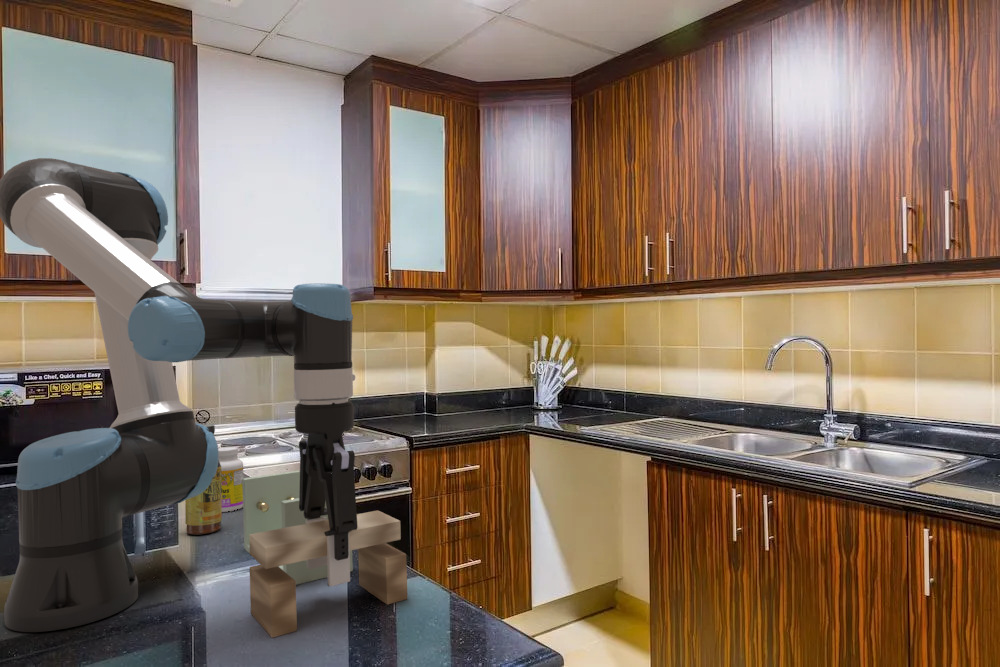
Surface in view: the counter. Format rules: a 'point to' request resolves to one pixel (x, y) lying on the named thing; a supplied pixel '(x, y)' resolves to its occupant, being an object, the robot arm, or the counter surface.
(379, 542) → the shelf board
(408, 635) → the counter surface
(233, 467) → the supplement bottle
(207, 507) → the sauce bottle
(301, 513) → the shelf frame
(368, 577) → the blocks
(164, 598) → the counter surface
